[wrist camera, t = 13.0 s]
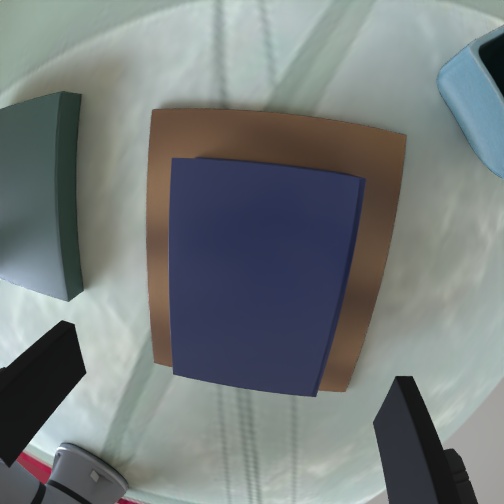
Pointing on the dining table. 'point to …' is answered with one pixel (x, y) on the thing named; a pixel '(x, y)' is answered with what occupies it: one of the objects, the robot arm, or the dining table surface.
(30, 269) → the green notebook
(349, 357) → the brown wooden board
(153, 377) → the dining table surface
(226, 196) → the navy book
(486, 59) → the flower pot
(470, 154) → the dining table surface
